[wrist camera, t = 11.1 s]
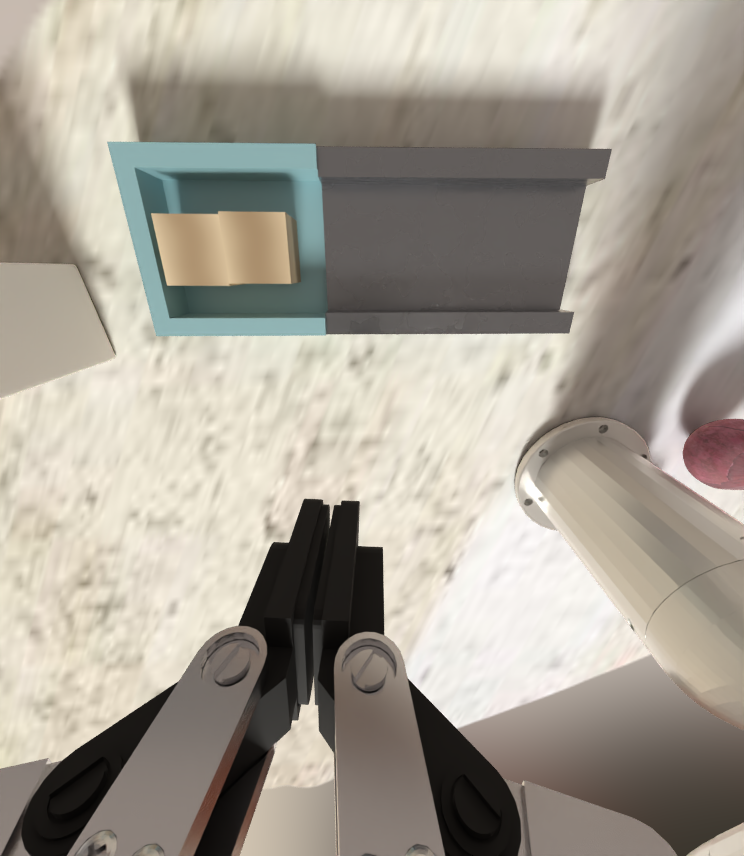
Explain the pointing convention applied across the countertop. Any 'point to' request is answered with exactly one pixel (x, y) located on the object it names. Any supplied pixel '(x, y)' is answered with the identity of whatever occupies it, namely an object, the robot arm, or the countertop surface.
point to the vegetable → (717, 454)
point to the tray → (207, 194)
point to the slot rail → (451, 237)
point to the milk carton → (46, 326)
